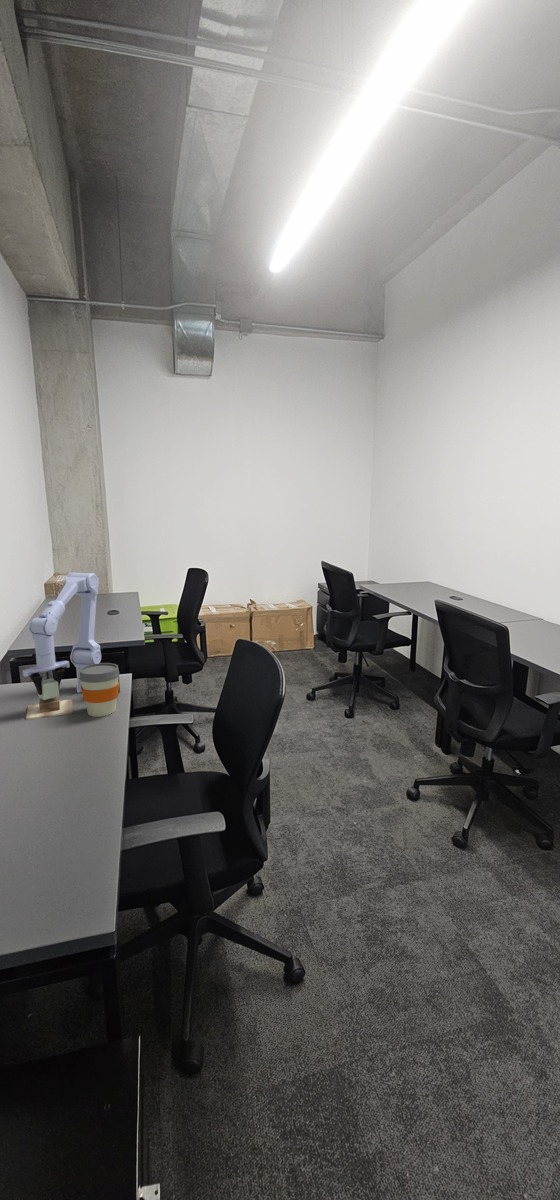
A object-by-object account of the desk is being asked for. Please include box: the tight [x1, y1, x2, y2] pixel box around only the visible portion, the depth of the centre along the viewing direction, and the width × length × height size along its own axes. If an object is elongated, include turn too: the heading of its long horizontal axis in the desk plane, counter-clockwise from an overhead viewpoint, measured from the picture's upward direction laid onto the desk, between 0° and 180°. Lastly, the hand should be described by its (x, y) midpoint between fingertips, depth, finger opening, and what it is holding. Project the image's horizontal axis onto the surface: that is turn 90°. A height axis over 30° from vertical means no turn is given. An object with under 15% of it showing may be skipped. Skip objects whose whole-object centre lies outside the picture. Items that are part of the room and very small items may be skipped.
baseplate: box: [25, 695, 74, 721], centre depth 170 cm, size 14×12×4 cm
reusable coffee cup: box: [79, 662, 120, 717], centre depth 168 cm, size 13×13×15 cm
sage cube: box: [37, 678, 60, 700], centre depth 169 cm, size 5×5×5 cm
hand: (48, 692), depth 169 cm, fingers closed on sage cube, 5 cm apart
